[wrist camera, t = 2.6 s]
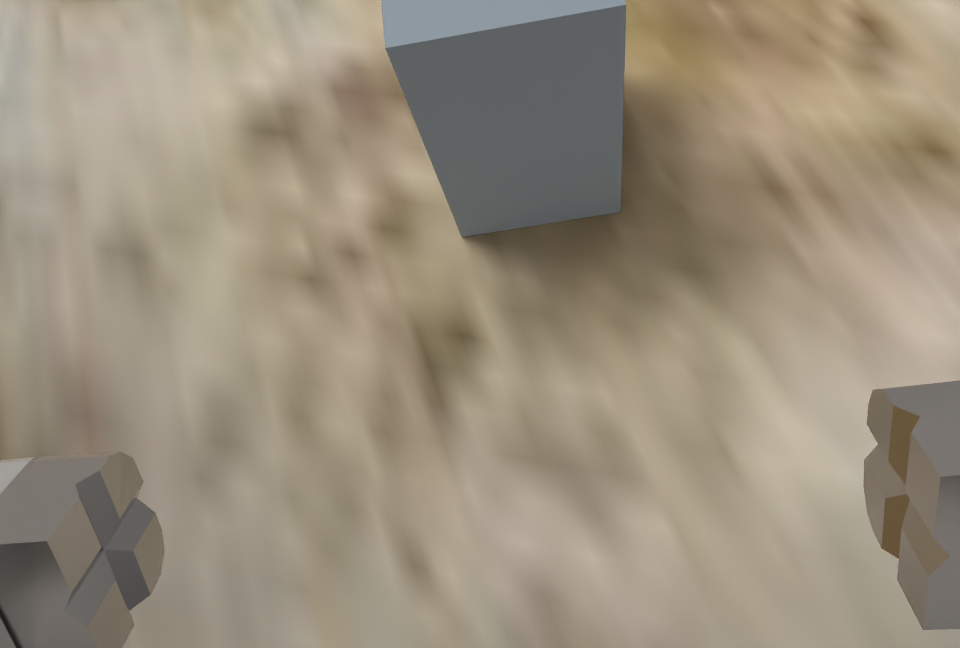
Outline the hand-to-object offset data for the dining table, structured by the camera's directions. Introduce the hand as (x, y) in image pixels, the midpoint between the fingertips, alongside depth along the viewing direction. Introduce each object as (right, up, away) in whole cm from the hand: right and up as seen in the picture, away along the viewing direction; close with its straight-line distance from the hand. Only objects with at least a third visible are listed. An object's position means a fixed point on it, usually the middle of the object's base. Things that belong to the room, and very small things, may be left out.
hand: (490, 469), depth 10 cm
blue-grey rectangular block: (+2, +7, +19) cm, 20 cm away
